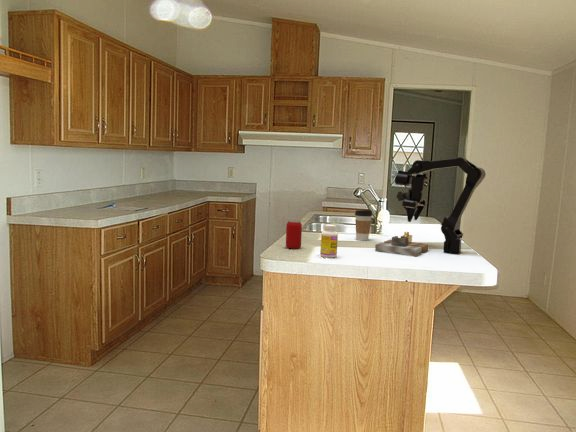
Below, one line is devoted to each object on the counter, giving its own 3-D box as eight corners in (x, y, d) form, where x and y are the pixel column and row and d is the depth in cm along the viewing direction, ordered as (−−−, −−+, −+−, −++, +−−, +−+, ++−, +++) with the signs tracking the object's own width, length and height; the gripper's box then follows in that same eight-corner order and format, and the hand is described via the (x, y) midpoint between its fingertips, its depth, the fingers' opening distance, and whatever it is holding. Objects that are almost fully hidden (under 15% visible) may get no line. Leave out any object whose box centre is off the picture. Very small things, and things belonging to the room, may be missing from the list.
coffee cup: (371, 241, 241) (373, 211, 239) (354, 241, 241) (356, 210, 239) (369, 239, 249) (371, 209, 247) (352, 238, 249) (354, 209, 247)
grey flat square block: (428, 250, 221) (429, 236, 220) (415, 256, 205) (416, 241, 205) (389, 245, 230) (390, 232, 229) (375, 251, 215) (376, 236, 214)
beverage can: (301, 247, 219) (302, 220, 217) (300, 249, 212) (301, 222, 211) (286, 246, 219) (287, 219, 218) (284, 248, 213) (285, 221, 211)
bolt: (411, 241, 224) (412, 231, 223) (406, 243, 218) (407, 233, 217) (405, 240, 225) (406, 231, 225) (400, 242, 219) (400, 232, 219)
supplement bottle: (330, 258, 194) (331, 226, 193) (317, 256, 198) (318, 224, 197) (340, 256, 199) (341, 225, 198) (326, 254, 204) (328, 223, 202)
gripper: (406, 184, 237) (402, 216, 240) (393, 185, 222) (388, 219, 224) (429, 187, 232) (424, 220, 234) (417, 189, 216) (412, 224, 218)
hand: (412, 220), depth 228 cm, fingers open, 9 cm apart
